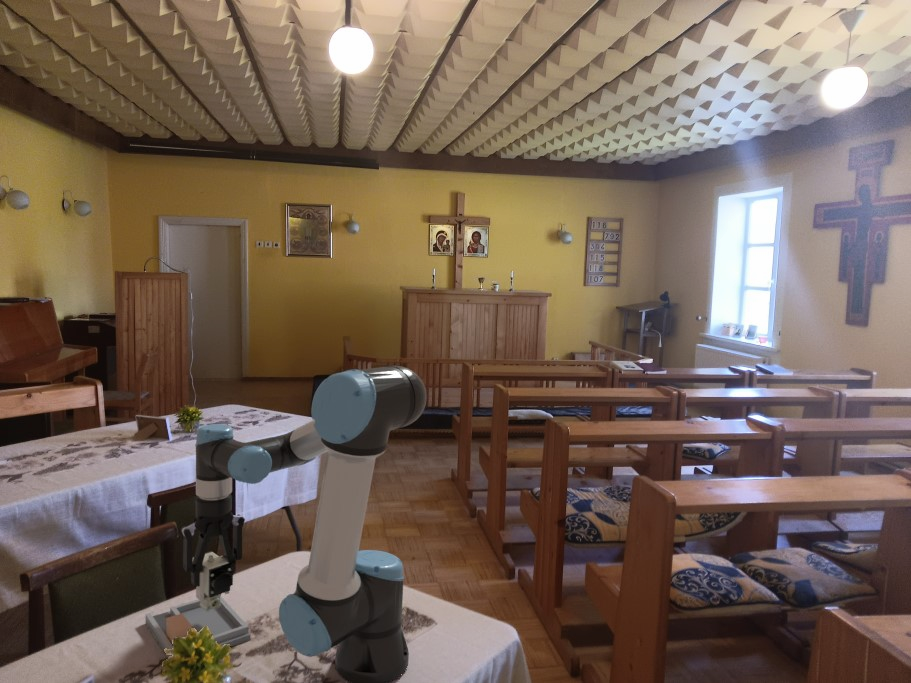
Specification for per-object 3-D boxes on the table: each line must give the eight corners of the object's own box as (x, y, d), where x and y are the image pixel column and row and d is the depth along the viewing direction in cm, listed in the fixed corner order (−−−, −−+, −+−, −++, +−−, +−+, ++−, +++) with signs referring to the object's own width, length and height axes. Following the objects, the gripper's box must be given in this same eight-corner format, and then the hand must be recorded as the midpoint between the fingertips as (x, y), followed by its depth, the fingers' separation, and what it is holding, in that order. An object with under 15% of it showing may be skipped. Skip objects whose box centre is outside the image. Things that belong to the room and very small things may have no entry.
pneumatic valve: (212, 621, 135) (213, 567, 134) (188, 600, 143) (188, 550, 142) (236, 611, 139) (237, 560, 138) (211, 592, 147) (211, 543, 146)
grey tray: (250, 639, 137) (250, 624, 137) (173, 666, 126) (173, 649, 126) (216, 602, 152) (216, 587, 152) (145, 623, 141) (145, 608, 141)
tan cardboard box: (191, 645, 132) (191, 625, 131) (175, 651, 130) (175, 630, 129) (182, 633, 136) (182, 613, 136) (166, 638, 134) (166, 618, 134)
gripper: (246, 482, 147) (245, 577, 150) (165, 497, 135) (165, 599, 138) (260, 492, 142) (258, 590, 144) (176, 508, 130) (176, 614, 132)
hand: (212, 594), depth 141 cm, fingers closed on pneumatic valve, 5 cm apart
